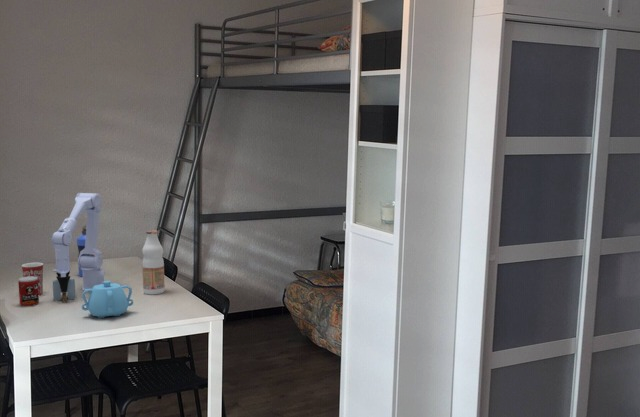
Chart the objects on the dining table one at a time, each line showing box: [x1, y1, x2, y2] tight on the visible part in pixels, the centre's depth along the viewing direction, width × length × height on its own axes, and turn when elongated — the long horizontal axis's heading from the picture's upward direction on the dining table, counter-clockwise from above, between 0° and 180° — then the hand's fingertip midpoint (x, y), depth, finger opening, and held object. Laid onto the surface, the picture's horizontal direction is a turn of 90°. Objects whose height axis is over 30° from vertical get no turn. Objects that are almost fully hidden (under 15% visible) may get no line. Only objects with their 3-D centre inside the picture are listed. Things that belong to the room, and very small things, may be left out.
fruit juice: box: [141, 229, 166, 296], centre depth 323 cm, size 9×9×28 cm
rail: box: [61, 292, 68, 303], centre depth 313 cm, size 2×12×3 cm, turn 20°
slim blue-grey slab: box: [52, 278, 77, 302], centre depth 313 cm, size 9×2×8 cm, turn 110°
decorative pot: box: [81, 280, 134, 319], centre depth 288 cm, size 16×16×14 cm
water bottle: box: [76, 225, 93, 278], centre depth 358 cm, size 9×9×25 cm
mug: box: [21, 262, 44, 296], centre depth 323 cm, size 13×9×14 cm
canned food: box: [17, 276, 40, 307], centre depth 306 cm, size 8×8×11 cm
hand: (64, 290), depth 313 cm, fingers open, 7 cm apart
